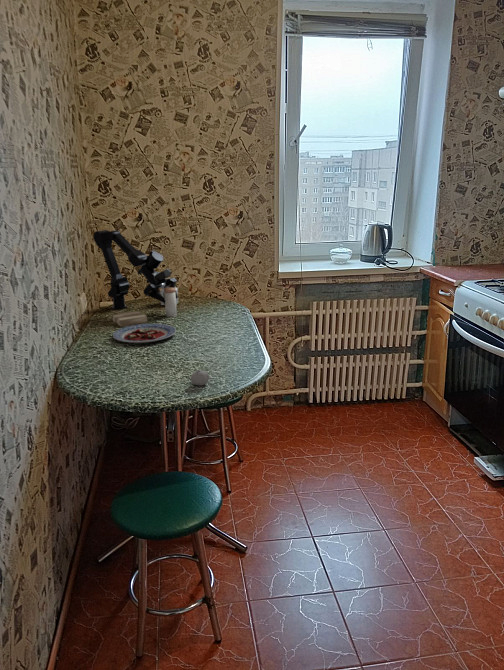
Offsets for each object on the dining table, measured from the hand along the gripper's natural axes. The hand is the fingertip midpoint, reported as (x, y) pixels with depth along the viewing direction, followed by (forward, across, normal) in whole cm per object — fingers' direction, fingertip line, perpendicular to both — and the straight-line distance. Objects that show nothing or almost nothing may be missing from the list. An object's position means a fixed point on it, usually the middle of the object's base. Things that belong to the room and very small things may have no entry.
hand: (171, 300), depth 253 cm
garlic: (+50, -64, -38) cm, 89 cm away
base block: (-2, -17, +13) cm, 22 cm away
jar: (+5, 0, +6) cm, 8 cm away
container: (-6, +18, +17) cm, 25 cm away
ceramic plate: (+14, -32, -2) cm, 35 cm away
